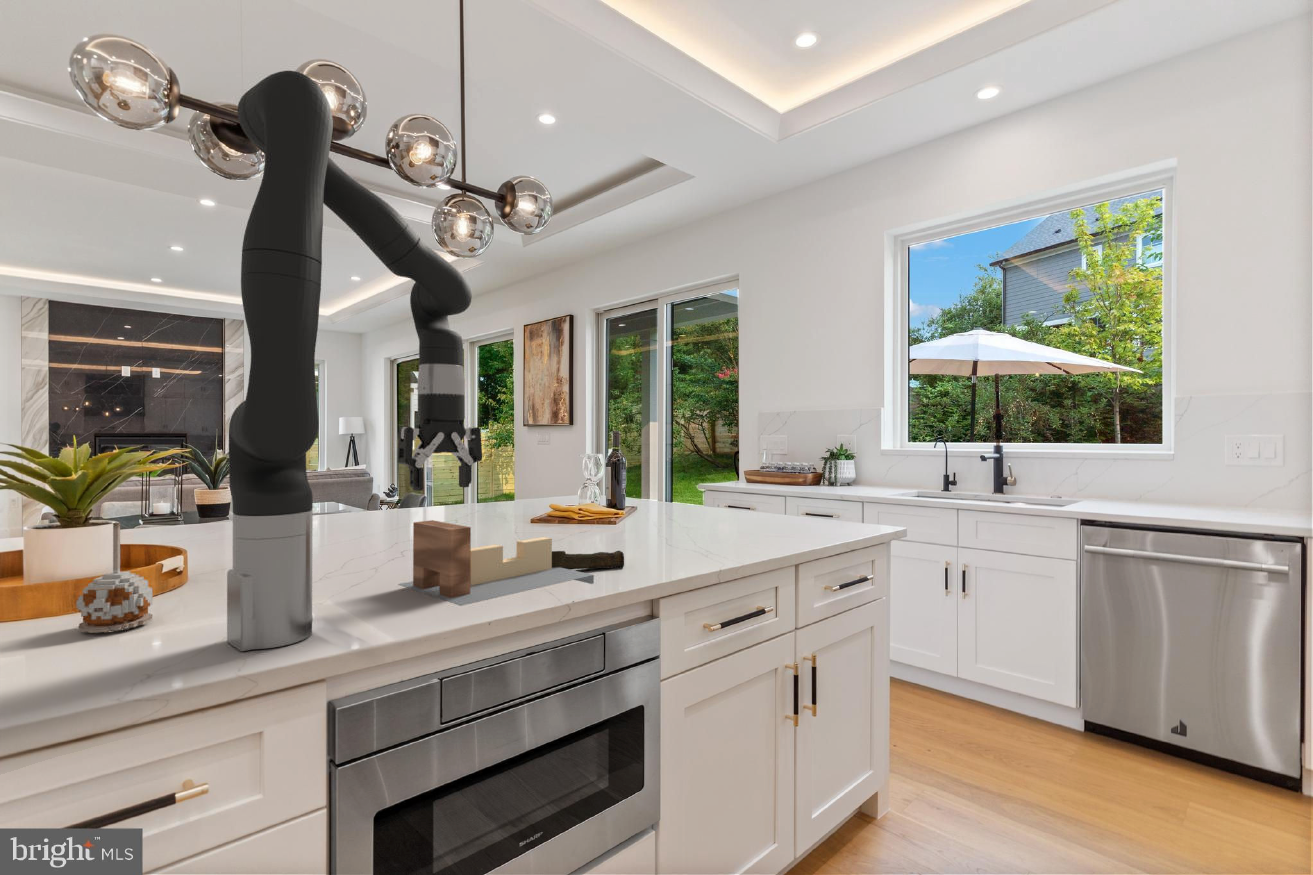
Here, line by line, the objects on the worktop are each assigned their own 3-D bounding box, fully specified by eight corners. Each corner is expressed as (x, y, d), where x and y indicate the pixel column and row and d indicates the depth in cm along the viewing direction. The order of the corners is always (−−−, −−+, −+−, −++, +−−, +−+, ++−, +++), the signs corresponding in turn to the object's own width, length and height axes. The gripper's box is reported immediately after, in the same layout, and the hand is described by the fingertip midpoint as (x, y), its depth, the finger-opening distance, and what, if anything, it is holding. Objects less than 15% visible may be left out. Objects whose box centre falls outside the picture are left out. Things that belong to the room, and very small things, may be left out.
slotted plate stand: (461, 614, 96) (461, 566, 96) (398, 592, 109) (398, 549, 109) (593, 582, 117) (593, 542, 117) (527, 567, 130) (527, 531, 130)
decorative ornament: (64, 638, 84) (64, 527, 84) (102, 621, 92) (102, 519, 92) (131, 634, 86) (131, 526, 86) (163, 618, 93) (163, 518, 93)
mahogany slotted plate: (450, 597, 100) (450, 529, 100) (413, 585, 108) (413, 522, 108) (470, 593, 103) (470, 527, 103) (432, 581, 111) (432, 520, 110)
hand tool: (618, 569, 133) (617, 547, 134) (625, 569, 130) (625, 547, 130) (531, 574, 125) (531, 550, 126) (536, 575, 121) (536, 551, 122)
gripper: (412, 389, 97) (412, 493, 97) (490, 393, 108) (490, 487, 108) (389, 391, 102) (390, 490, 102) (466, 395, 113) (466, 484, 113)
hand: (441, 488), depth 105 cm, fingers open, 8 cm apart
